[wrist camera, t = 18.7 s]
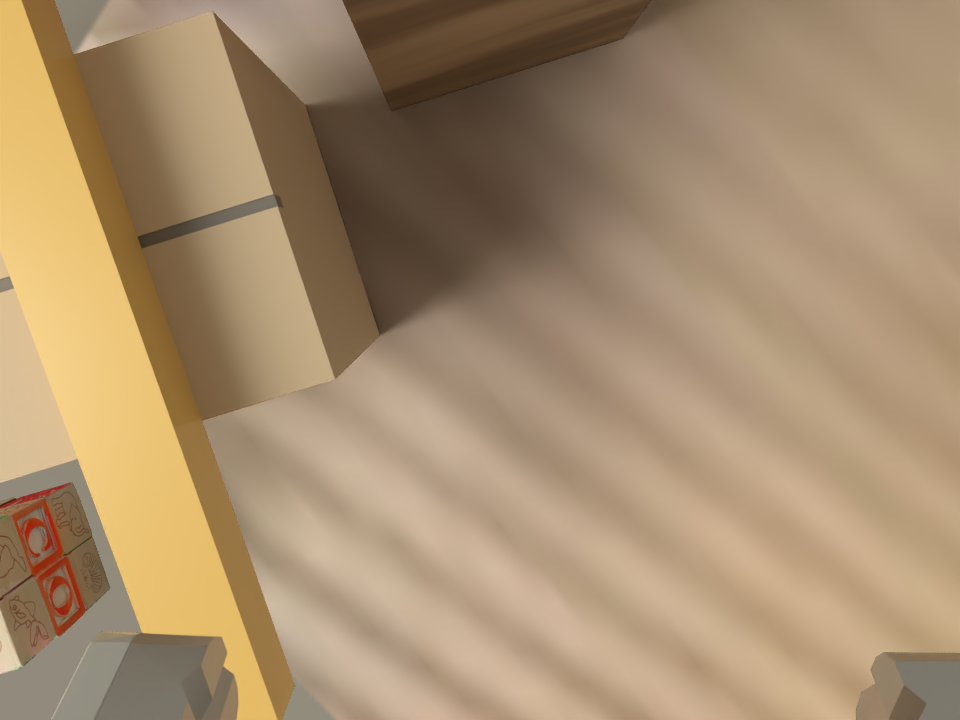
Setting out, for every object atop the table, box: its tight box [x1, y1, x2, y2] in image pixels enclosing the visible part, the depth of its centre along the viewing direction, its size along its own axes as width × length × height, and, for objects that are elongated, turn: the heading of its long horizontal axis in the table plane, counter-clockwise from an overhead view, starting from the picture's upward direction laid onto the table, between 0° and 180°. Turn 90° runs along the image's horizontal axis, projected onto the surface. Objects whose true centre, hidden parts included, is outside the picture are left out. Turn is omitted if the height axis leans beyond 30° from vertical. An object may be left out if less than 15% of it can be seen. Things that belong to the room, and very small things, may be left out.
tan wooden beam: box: [0, 0, 295, 720], centre depth 26 cm, size 26×3×2 cm, turn 17°
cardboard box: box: [0, 11, 380, 483], centre depth 35 cm, size 12×12×16 cm
